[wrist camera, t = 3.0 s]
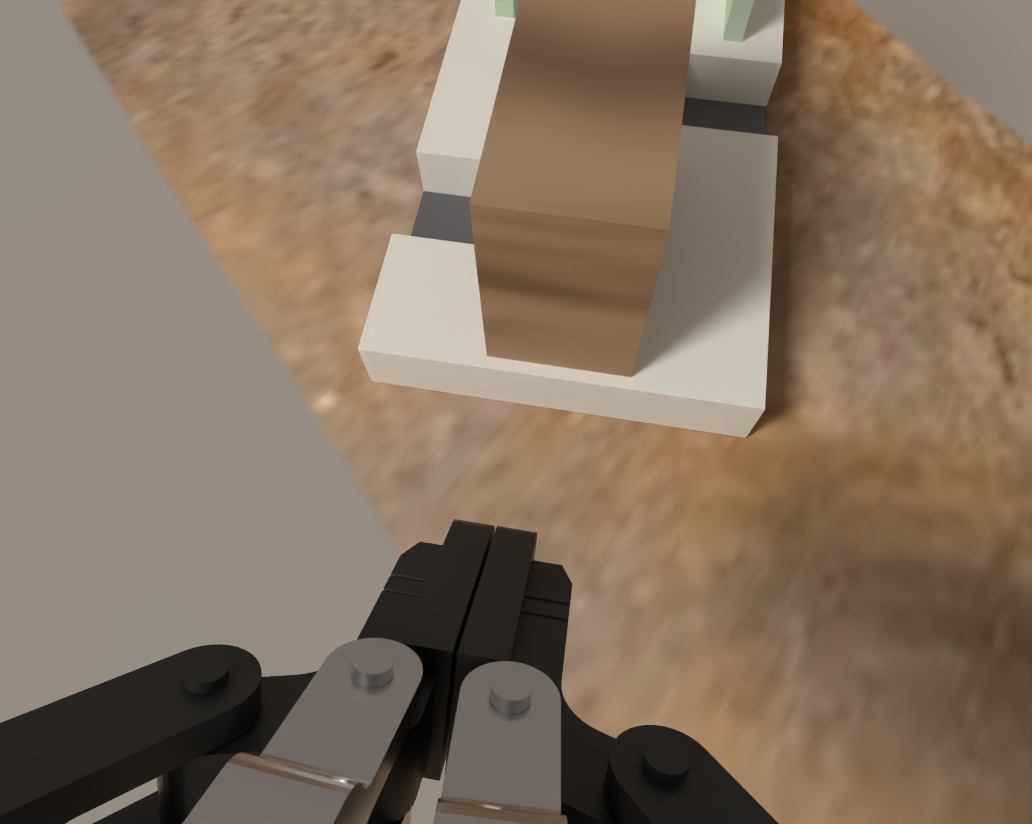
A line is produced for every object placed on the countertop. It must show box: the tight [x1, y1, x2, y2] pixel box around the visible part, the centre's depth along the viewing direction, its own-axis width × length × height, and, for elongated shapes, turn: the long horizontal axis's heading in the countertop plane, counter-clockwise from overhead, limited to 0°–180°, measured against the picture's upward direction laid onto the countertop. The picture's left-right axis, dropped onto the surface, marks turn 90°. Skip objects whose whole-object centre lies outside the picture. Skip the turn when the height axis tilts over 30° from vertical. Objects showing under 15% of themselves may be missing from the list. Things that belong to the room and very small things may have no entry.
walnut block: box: [469, 0, 696, 377], centre depth 25 cm, size 10×5×8 cm, turn 170°
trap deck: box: [358, 0, 785, 438], centre depth 30 cm, size 22×14×6 cm, turn 170°
